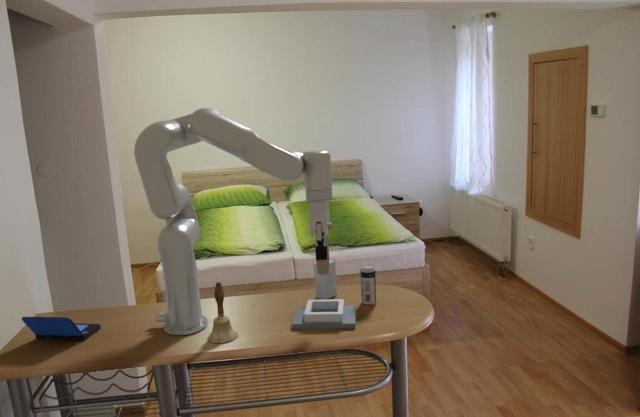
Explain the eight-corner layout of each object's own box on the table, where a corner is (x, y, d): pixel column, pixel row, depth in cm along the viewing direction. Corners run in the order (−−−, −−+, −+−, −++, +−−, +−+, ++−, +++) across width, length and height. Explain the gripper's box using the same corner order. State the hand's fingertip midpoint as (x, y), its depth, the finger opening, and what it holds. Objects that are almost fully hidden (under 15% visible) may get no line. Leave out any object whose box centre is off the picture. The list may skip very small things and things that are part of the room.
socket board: (292, 329, 146) (291, 316, 145) (297, 310, 159) (297, 298, 158) (355, 328, 144) (354, 315, 143) (356, 310, 157) (355, 297, 156)
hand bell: (206, 333, 146) (201, 280, 143) (235, 328, 148) (230, 276, 145) (209, 346, 138) (204, 290, 135) (240, 340, 141) (235, 285, 137)
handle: (334, 276, 146) (331, 225, 143) (312, 277, 146) (309, 226, 143) (334, 270, 151) (332, 221, 148) (312, 271, 151) (309, 222, 148)
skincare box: (328, 292, 173) (326, 258, 170) (337, 295, 169) (335, 261, 167) (315, 297, 169) (313, 263, 166) (323, 300, 166) (322, 265, 163)
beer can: (379, 303, 161) (378, 266, 159) (367, 307, 159) (366, 270, 156) (369, 298, 165) (368, 263, 163) (358, 302, 163) (356, 266, 160)
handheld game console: (103, 328, 154) (98, 299, 152) (74, 349, 141) (69, 318, 139) (56, 326, 156) (52, 298, 155) (24, 347, 144) (19, 316, 142)
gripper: (308, 190, 152) (312, 249, 156) (302, 200, 136) (306, 266, 140) (334, 189, 152) (336, 248, 155) (330, 199, 135) (333, 266, 139)
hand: (322, 256), depth 147 cm, fingers closed on handle, 3 cm apart
